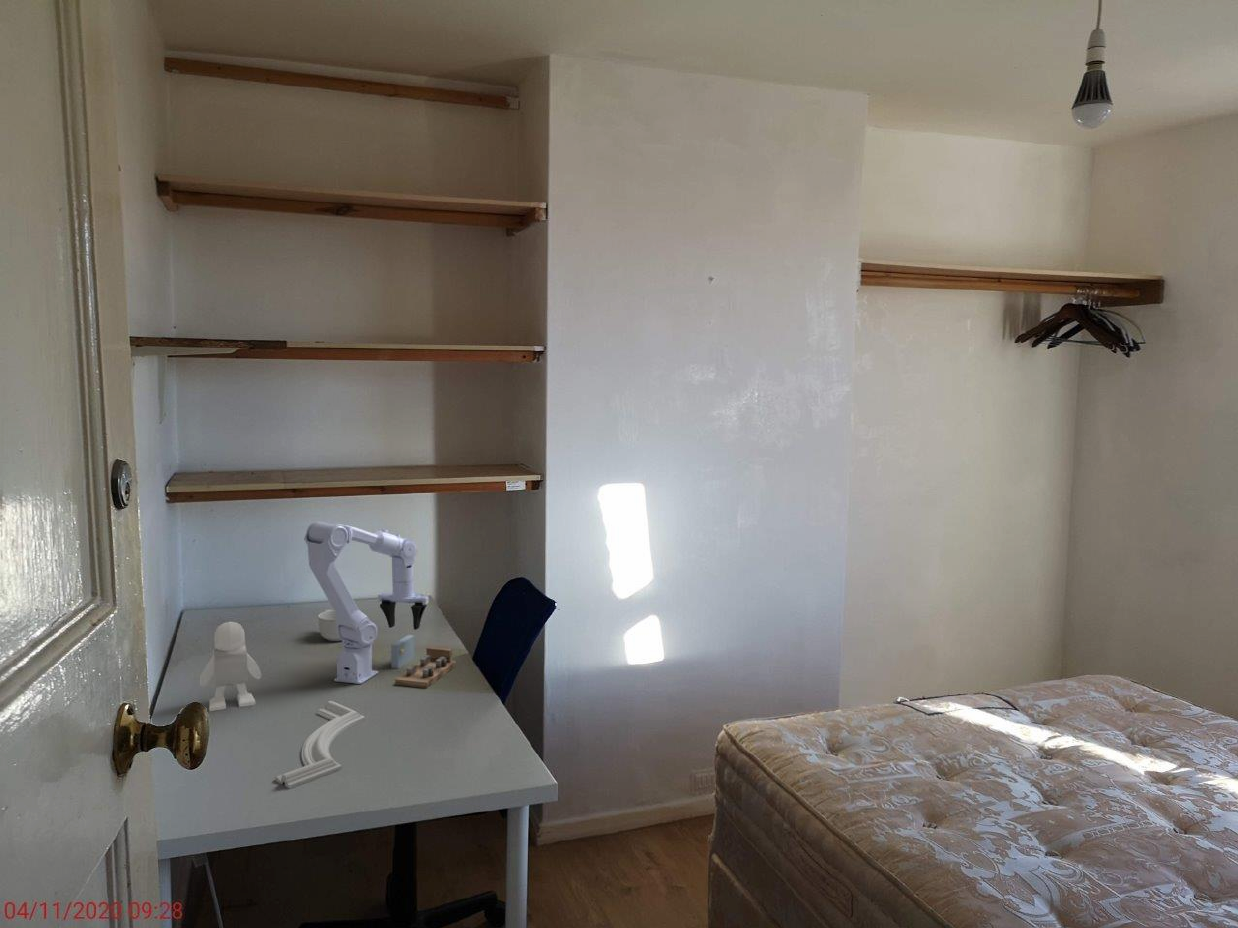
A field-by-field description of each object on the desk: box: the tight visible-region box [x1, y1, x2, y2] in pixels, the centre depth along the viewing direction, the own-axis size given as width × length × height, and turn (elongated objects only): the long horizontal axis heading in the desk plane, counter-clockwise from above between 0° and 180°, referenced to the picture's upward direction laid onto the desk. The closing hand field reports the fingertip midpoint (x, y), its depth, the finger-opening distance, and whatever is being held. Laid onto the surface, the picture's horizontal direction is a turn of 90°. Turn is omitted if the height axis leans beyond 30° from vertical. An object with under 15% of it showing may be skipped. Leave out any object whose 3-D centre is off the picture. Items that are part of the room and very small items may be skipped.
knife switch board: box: [394, 646, 457, 689], centre depth 237 cm, size 18×9×5 cm, turn 166°
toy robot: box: [198, 621, 262, 712], centre depth 215 cm, size 14×9×20 cm, turn 117°
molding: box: [274, 700, 366, 789], centre depth 192 cm, size 42×12×3 cm, turn 6°
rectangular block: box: [390, 634, 416, 669], centre depth 247 cm, size 10×3×6 cm, turn 166°
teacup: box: [317, 608, 342, 642], centre depth 270 cm, size 14×11×8 cm
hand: (404, 627), depth 247 cm, fingers open, 7 cm apart
